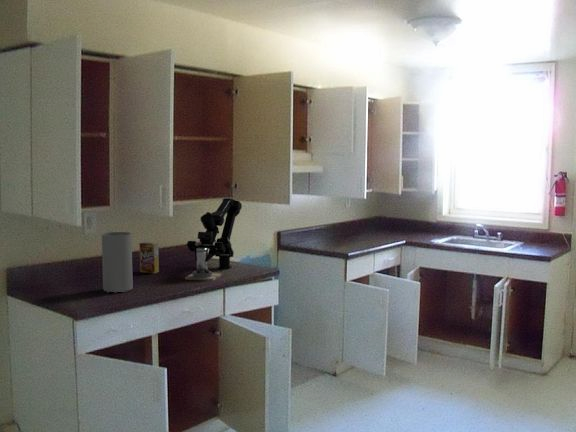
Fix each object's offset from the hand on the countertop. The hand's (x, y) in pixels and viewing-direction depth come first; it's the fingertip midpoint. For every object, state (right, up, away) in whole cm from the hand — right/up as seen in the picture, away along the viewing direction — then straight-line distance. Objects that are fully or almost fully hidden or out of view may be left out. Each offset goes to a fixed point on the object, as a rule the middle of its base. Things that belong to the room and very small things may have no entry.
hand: (200, 260), depth 281 cm
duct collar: (0, -9, +2) cm, 9 cm away
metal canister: (0, -6, +2) cm, 7 cm away
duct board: (+1, -8, +5) cm, 9 cm away
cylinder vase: (-33, -11, -24) cm, 42 cm away
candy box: (-29, -7, +16) cm, 33 cm away
